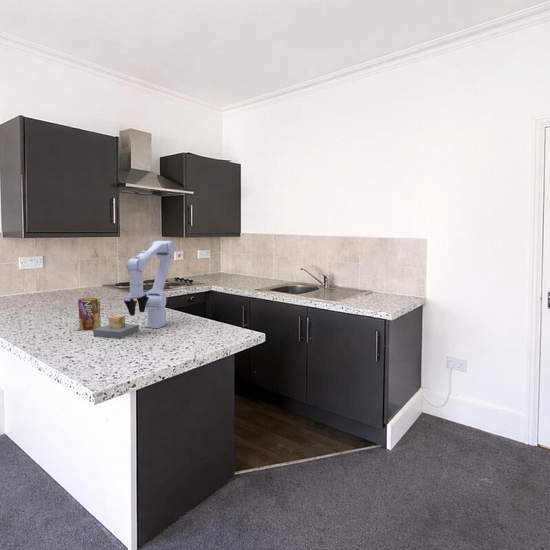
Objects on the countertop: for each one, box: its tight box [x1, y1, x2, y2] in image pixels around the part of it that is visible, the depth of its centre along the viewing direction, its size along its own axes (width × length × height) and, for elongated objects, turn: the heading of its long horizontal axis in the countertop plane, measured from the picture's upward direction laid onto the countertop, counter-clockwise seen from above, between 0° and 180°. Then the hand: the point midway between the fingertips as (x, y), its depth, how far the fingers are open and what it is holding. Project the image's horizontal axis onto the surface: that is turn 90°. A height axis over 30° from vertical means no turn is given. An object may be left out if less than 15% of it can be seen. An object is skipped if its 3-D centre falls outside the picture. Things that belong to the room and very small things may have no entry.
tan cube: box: [108, 314, 126, 329], centre depth 181 cm, size 5×5×5 cm
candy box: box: [77, 296, 102, 331], centre depth 189 cm, size 9×4×15 cm, turn 100°
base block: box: [92, 323, 140, 340], centre depth 182 cm, size 14×14×3 cm
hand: (137, 313), depth 181 cm, fingers open, 7 cm apart
